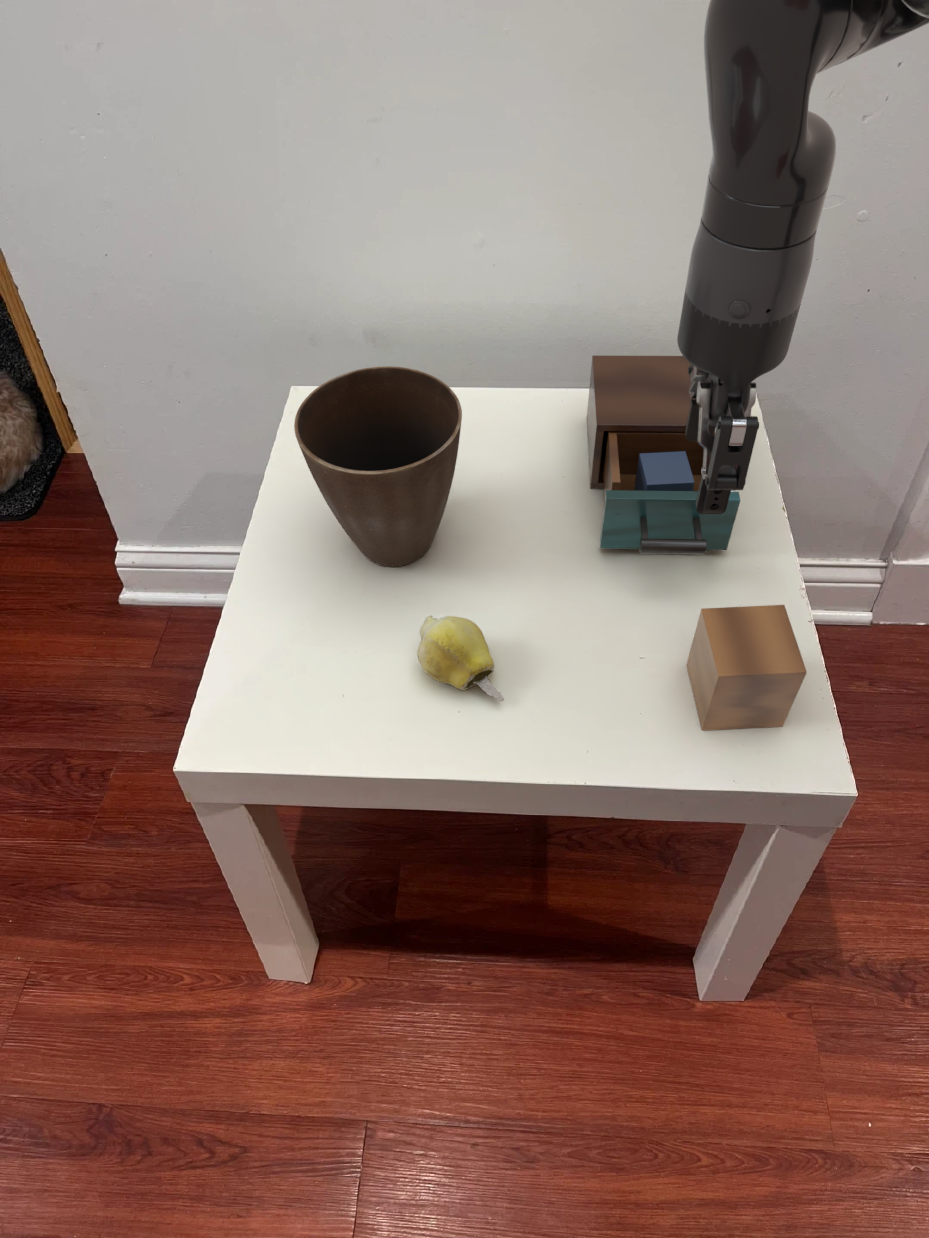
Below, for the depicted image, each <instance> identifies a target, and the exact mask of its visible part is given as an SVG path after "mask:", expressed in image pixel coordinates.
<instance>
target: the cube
mask: <svg viewBox="0 0 929 1238" xmlns="http://www.w3.org/2000/svg"><path fill="white" fill-rule="evenodd" d="M693 634H694V635H693V638H692V643H691V647H690V650H689V655H688V656H687V661H686V669H687V673H688V678H689V683H690V687H691V691H692V695H693V700H694V704H695V707H696V712H697V717H698V720H699V725H700V730H701V731H715V730H716V731H717V730H718V731H719V730H720V731H721V730H738V729H759V728H760V729H762V728H779V727H780V728H781V727H784V725H785V723H786V721H787V719H788V716H789V714H790V711H791V709H792V707H793V704H794V703H795V699H797V696H798V694H799V691H800V688H801V686H802V684H803V682H804V680H805V677H806V675H807V668H806V666H805V663H804V659H803V657H802V654H801V650H800V647H799V644H798V641H797V639H796V635H795V632H794V630H793V626H792V623H791V620H790V617H789V614H788V612H787V609H786V606H785V604H771V605H770V604H769V605H768V604H767V605H751V606H750V605H749V606H731V607H729V606H727V607H707V608H700V612H699V615H698V620H697V624H696V627H695V631H694V633H693Z"/></svg>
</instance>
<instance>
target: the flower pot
mask: <svg viewBox="0 0 929 1238" xmlns="http://www.w3.org/2000/svg"><path fill="white" fill-rule="evenodd" d="M301 402H302V403H300V406H299V407H298V409H297V412H296V413H295V417H294V423H293V429H294V436H295V438H296V441H297V444H298V446H299V448H300V451H301V453H302V455H303V458H304V461H305V463H306V466H307V468H308V470H309V472H310V475H311V476H312V479H313V480H314V482H315V484H316V486H317V488H318V490H319V492H320V493H321V495H322V497H323V499H324V501H325V503H326V504H327V505H328V508H329V509H330V511H331V513H332V514H333V516H334V517H335V519H336V520H337V522H338V523H339V525H340V526H341V528H342V529H343V531H344V532H345V534H346V535H347V536H348V537H349V539H350V540H351V541H352V543H353V544H354V545H355V546H356V547H357V549H358V550H359V551H360V552H361V553H362V554H363V556H364V557H365V558H366V559H367V560H369V561H370V562H372V563H374V564H376V565H379V566H383V567H389V568H397V567H404V566H407V565H410V564H413V563H415V562H416V561H419V560H421V558H423V557H424V555H426V554H427V552H428V551H429V549H430V548H431V545H432V543H433V541H434V540H435V537H436V534H437V533H438V530H439V527H440V525H441V522H442V519H443V517H444V513H445V510H446V507H447V503H448V500H449V497H450V492H451V489H452V484H453V480H454V475H455V471H456V465H457V459H458V453H459V446H460V437H461V428H462V420H463V410H462V405H461V402H460V400H459V398H458V396H457V395H456V393H455V392H454V391H453V390H452V388H451V387H450V386H448V385H447V384H446V383H445V382H444V381H443V380H441V379H440V378H437V377H435V376H433V375H431V374H429V373H426V372H424V371H421V370H418V369H413V368H408V367H403V366H387V365H386V366H371V367H365V368H360V369H355V370H351V371H348V372H347V373H342V374H340V375H338V376H335V377H333V378H331V379H328V380H327V381H325V382H323V383H321V385H318V386H317V387H316V388H315V389H314V390H313V391H311V392H310V393H309V394H307V396H306V398H304V400H303V401H301Z"/></svg>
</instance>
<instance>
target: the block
mask: <svg viewBox="0 0 929 1238" xmlns="http://www.w3.org/2000/svg"><path fill="white" fill-rule="evenodd" d="M694 483H695V482H694V479H693V475H692V472H691V468H690V465H689V462H688V458H687V455H686V451H679V452H660V453H640V454H639V460H638V467H637V474H636V480H635V487H634V488H635V491H693V487H694Z"/></svg>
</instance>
